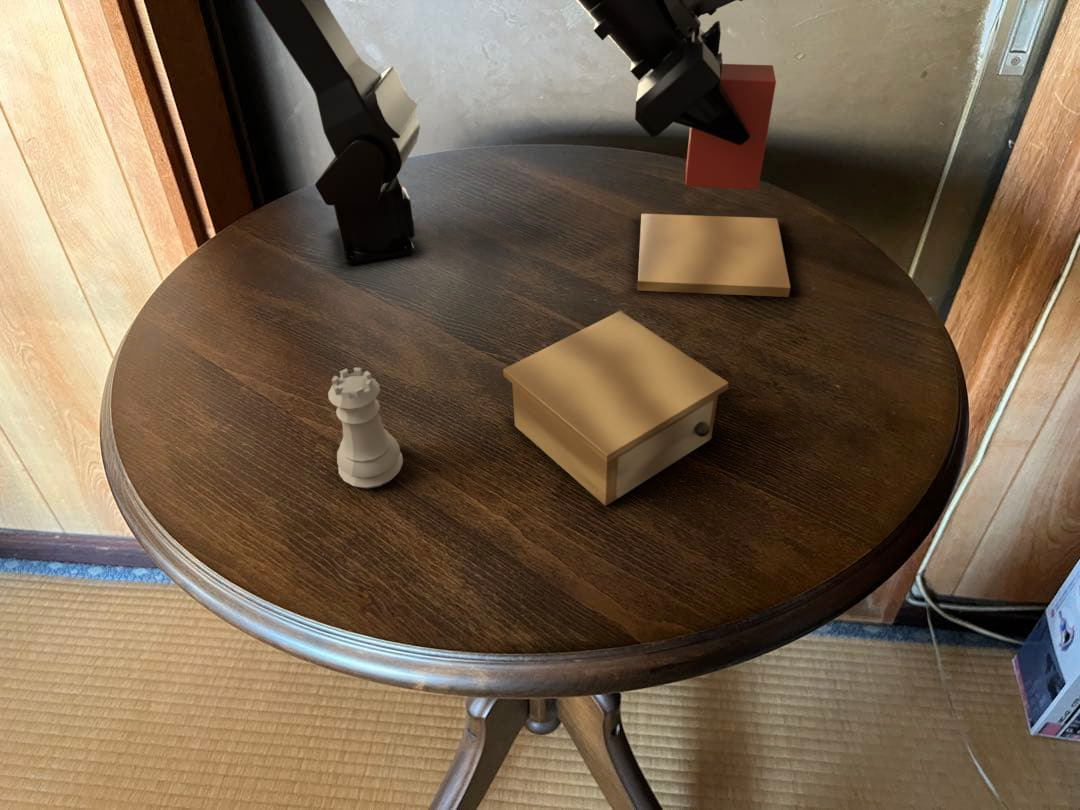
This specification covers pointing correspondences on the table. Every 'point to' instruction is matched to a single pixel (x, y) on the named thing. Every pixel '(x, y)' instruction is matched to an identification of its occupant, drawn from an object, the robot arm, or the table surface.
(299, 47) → the robot arm
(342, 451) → the rook chess piece
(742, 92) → the tall red upright block
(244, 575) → the table surface
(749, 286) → the board
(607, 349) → the cabinet
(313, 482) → the table surface
